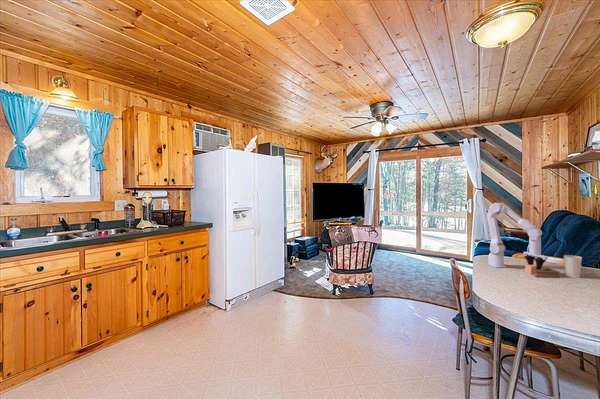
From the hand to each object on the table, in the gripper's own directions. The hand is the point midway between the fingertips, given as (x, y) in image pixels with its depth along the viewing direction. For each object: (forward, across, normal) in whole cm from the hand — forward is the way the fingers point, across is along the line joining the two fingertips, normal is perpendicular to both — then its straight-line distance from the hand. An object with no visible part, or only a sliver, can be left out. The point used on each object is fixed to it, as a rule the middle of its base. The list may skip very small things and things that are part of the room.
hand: (534, 268), depth 175 cm
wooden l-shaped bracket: (+3, +2, +1) cm, 4 cm away
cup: (+3, +9, +16) cm, 18 cm away
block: (+3, 0, 0) cm, 3 cm away
